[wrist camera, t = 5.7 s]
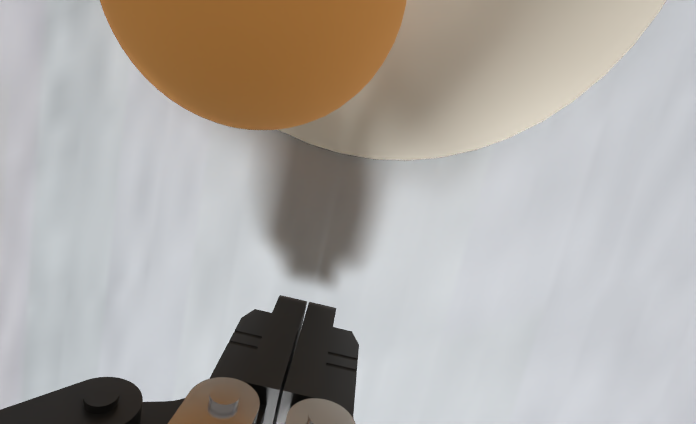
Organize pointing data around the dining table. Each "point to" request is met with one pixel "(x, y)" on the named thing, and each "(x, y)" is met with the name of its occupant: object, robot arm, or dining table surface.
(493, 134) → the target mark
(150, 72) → the ball
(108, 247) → the dining table surface
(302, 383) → the robot arm
